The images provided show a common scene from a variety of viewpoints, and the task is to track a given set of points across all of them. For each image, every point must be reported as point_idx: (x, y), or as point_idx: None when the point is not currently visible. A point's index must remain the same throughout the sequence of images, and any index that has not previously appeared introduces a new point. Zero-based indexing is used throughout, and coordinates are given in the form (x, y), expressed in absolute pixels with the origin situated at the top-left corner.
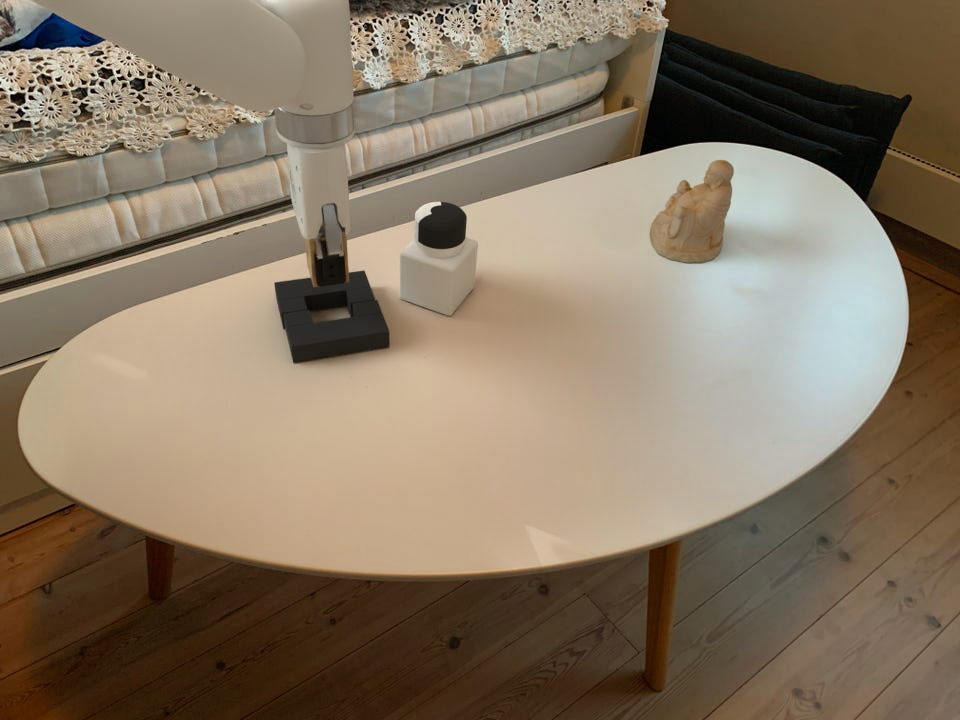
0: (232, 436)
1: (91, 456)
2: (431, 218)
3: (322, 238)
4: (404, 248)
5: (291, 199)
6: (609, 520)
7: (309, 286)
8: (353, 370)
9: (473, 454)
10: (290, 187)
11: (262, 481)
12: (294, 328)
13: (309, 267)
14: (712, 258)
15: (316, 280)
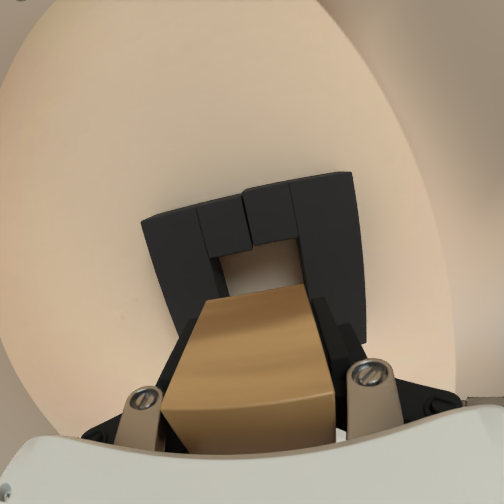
0: (43, 156)
1: (47, 33)
2: None
3: (192, 443)
4: (339, 440)
5: (444, 421)
6: (61, 427)
7: (332, 247)
8: (149, 304)
9: (72, 386)
10: (474, 500)
11: (9, 204)
12: (190, 223)
13: (252, 307)
14: None
15: (189, 324)
